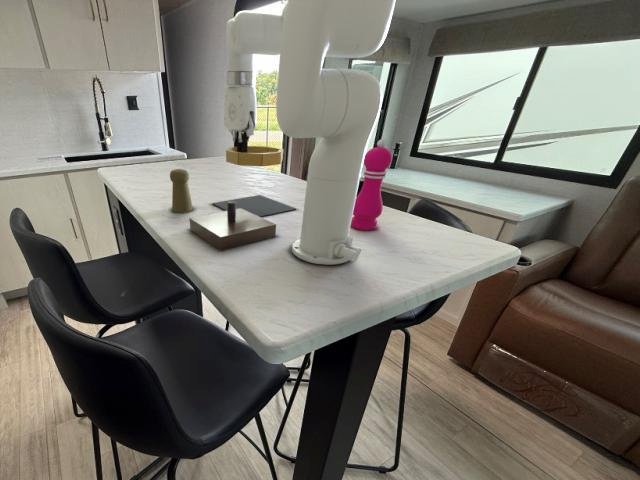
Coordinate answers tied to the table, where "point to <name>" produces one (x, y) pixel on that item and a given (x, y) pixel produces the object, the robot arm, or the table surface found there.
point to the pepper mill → (371, 188)
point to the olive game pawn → (180, 191)
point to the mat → (257, 205)
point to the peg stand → (232, 227)
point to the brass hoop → (255, 156)
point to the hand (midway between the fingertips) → (240, 156)
